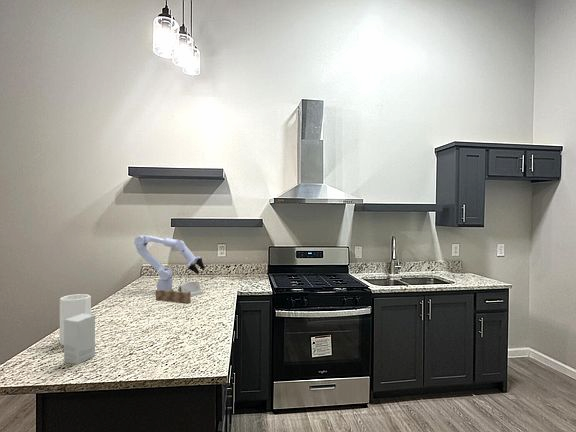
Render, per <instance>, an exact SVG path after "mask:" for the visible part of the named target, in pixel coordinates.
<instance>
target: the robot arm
mask: <svg viewBox="0 0 576 432" xmlns="http://www.w3.org/2000/svg"><path fill="white" fill-rule="evenodd" d="M134 238H135V239H134V241H133V242H134V243H133V244H134V245H135V248H136V251H137V253H138V254H139V255H140V256H141V257H142V258H143V260H144V261H146V262H147V264H149V265H150V266H151V267H152V268H153V269H154V270H155V271H156V273H157V275H158V276H159V278H160V279H158V281H157V283H156V290H167V291H169V290H173V278H172V277H173V276H174V271H173V270H172V269H170V268H169V267H166V266H164V265H163V264H162V263H161V262H160V261H159V260H158V259H157V258H156V257H155V256H153V254H152V253H151V252H149V250H147V248H148V247H147V246H148V243H152V242H153V243H158V244H163V246H164V247H167V248H172V249H175V250H178V251H179V252H180V254H181V256H183V258H184V259H185V261H186V262H187V264H186V265H185V266H186V267H187V269H188V270H190V271H192V272H193V273H195V274H196V275H198V274H200V270H199V269H198V268H197V266H198V267H199V268H200V269H201V270H204V269H205V268H206V267H205V264H204V263H203V258H202V257H200V255H198V256H195V255H194V254H193V252H192V251H191V250H190V249H189V248H188V247H187V245H186V243H185V241H184V240H181V239H178V238H177V239H175V238H171V237H170V236H169V237H166V238H162V237H158V236H154V235H148V234H147V235H146V234H142V235H137V236H136V237H134Z"/></svg>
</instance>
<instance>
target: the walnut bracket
mask: <svg viewBox="0 0 576 432" xmlns="http://www.w3.org/2000/svg"><path fill="white" fill-rule="evenodd" d="M191 298H192V297H191V293H190V291H188V292H179V290H178V291H176V290H174V289H172V290H169V291H167V290H157V289H156V290H155V301H163V302H171V303H179V304H180V303H181V304H191Z"/></svg>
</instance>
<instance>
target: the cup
mask: <svg viewBox="0 0 576 432" xmlns="http://www.w3.org/2000/svg"><path fill="white" fill-rule="evenodd" d="M91 307H92V296H91V295H89V294H86V293H85V294H84V293H83V294H80V293H78V294H69V295H65V296H61V297H60V298H59V344H60V345H61V346H63V347H64V320H65V319H68V318H71V317H74V316H77V315H79V314H91V315H92V308H91Z"/></svg>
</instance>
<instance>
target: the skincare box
mask: <svg viewBox="0 0 576 432" xmlns="http://www.w3.org/2000/svg"><path fill="white" fill-rule="evenodd" d="M95 345H96V315H95V314H92V313H91V314H79V315H77V316H74V317H71V318H68V319H65V320H64V346H63V362H64V363H67V364H73V365H79V364H81V363H83V362H86V361H87V360H89V359H91V358H93V357H95V356H96V346H95Z"/></svg>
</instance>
